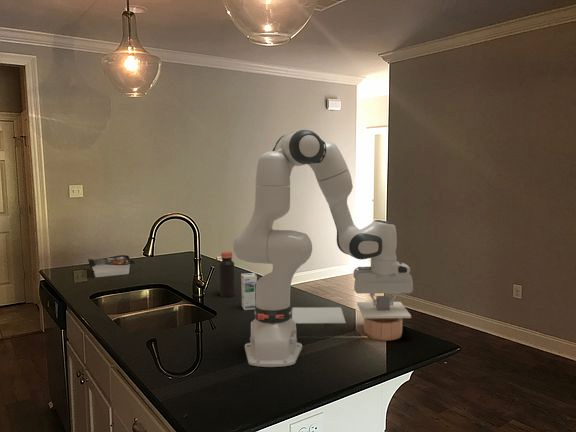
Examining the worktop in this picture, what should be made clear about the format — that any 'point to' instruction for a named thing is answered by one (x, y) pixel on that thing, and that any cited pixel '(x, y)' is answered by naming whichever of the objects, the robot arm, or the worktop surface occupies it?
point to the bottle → (227, 275)
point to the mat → (318, 315)
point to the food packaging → (111, 265)
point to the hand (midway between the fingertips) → (382, 305)
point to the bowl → (383, 328)
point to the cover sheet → (383, 314)
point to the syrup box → (248, 290)
